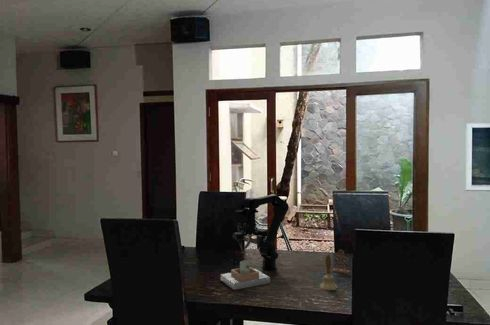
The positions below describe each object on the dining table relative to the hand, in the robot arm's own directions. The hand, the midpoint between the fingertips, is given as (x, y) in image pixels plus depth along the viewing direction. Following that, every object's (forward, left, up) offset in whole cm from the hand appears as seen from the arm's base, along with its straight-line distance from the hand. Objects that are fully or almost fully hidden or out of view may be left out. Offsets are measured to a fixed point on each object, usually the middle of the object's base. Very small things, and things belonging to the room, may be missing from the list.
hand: (250, 250), depth 217 cm
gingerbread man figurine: (-45, +20, -13) cm, 51 cm away
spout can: (+8, +9, -10) cm, 16 cm away
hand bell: (-24, +36, -13) cm, 45 cm away
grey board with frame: (+8, +9, -13) cm, 18 cm away
